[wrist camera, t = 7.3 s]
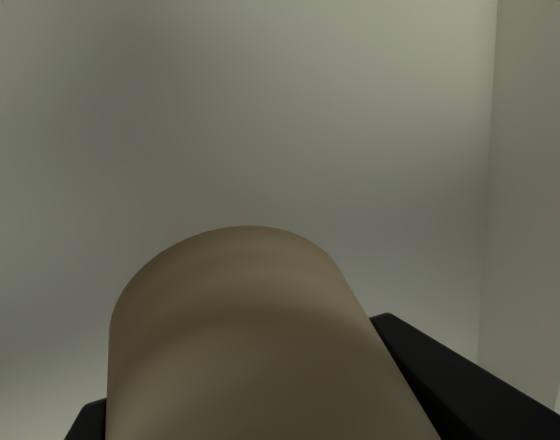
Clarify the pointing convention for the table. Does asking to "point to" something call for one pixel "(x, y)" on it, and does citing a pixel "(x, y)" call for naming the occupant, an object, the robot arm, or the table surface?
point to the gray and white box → (278, 169)
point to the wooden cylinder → (251, 348)
